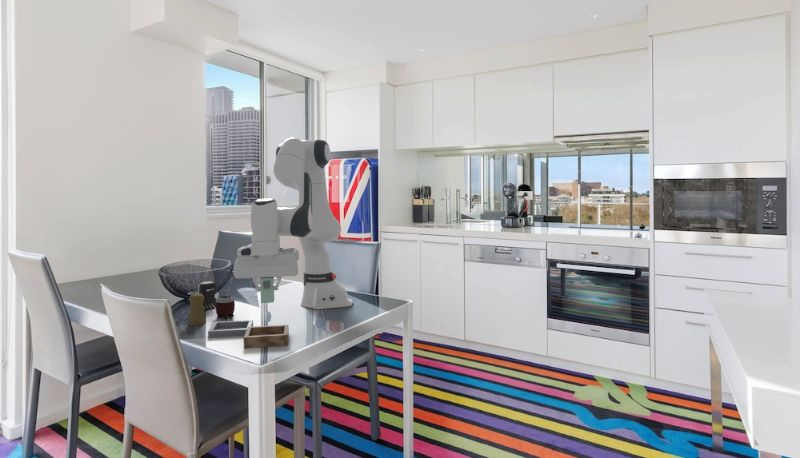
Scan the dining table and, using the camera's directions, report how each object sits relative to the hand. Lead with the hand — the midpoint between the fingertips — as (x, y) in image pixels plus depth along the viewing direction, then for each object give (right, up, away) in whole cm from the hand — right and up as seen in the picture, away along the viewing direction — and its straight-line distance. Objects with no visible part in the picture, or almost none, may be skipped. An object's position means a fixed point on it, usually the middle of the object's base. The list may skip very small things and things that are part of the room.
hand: (267, 290), depth 148 cm
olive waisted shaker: (-32, -15, +21) cm, 41 cm away
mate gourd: (-25, -15, +30) cm, 41 cm away
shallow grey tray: (-16, -16, +11) cm, 25 cm away
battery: (-37, -14, +40) cm, 56 cm away
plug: (0, -4, 0) cm, 4 cm away
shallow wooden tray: (0, -17, +1) cm, 17 cm away
